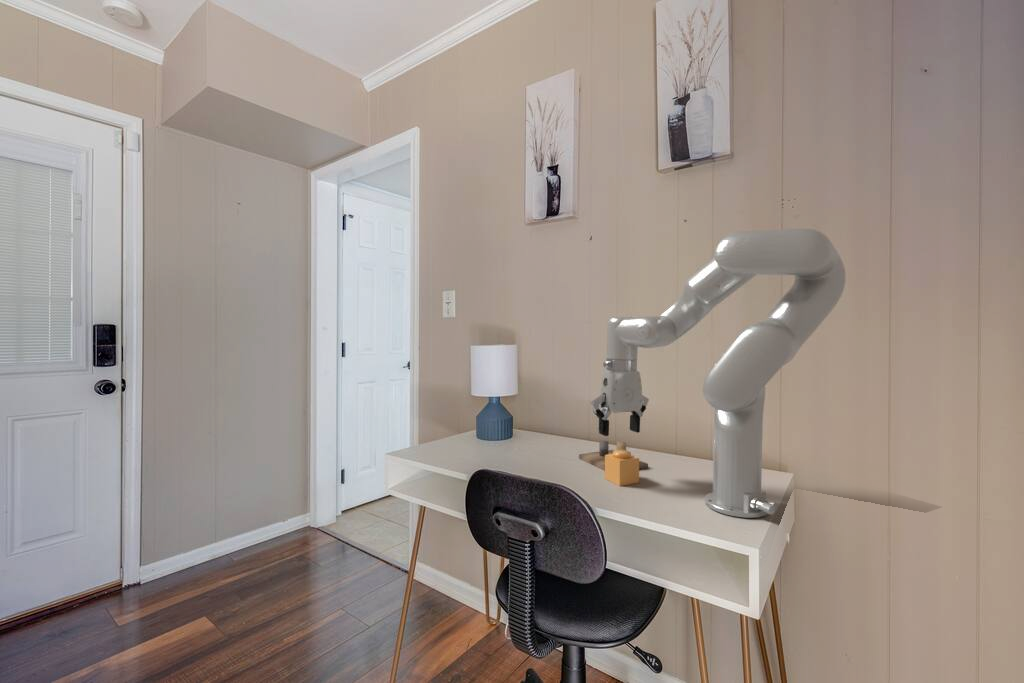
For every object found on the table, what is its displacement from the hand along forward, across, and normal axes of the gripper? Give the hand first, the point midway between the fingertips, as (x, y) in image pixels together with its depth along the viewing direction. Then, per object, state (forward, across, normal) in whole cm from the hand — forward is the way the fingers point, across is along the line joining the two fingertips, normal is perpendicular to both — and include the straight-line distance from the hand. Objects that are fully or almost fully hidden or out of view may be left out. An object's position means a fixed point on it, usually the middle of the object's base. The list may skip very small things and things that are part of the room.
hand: (619, 433), depth 118 cm
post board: (+12, +8, +12) cm, 19 cm away
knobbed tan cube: (+12, 0, -1) cm, 12 cm away
